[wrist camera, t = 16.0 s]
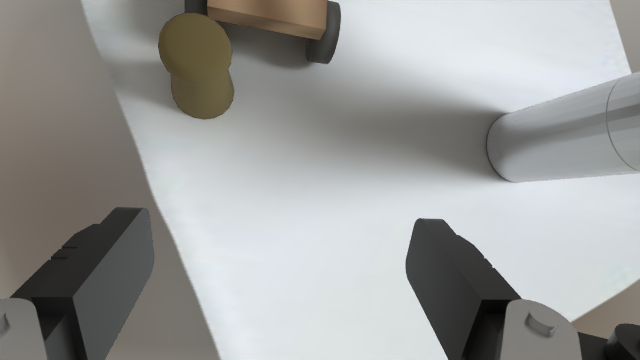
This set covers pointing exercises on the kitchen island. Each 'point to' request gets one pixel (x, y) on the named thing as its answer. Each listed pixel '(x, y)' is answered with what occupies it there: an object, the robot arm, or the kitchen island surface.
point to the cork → (197, 64)
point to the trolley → (281, 20)
